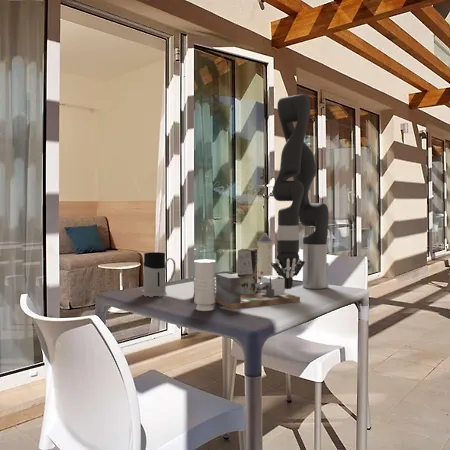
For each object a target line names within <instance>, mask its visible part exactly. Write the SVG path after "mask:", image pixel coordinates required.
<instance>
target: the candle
mask: <svg viewBox="0 0 450 450" xmlns="http://www.w3.org/2000/svg"><path fill="white" fill-rule="evenodd" d="M193 263H194V275H195V278H193V293H194V292H195V297H193V303H194V304H196V307H195V310H196V311H202V312H207V311H213V310H215V307H214V304H215V303H216V300H215V297H216V271H215V270H216V269H215V267H216V266H215V265H216V264H215V263H216V260H215V259H195V260H193ZM194 281H195V282H194ZM194 288H195V289H194Z"/></svg>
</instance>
